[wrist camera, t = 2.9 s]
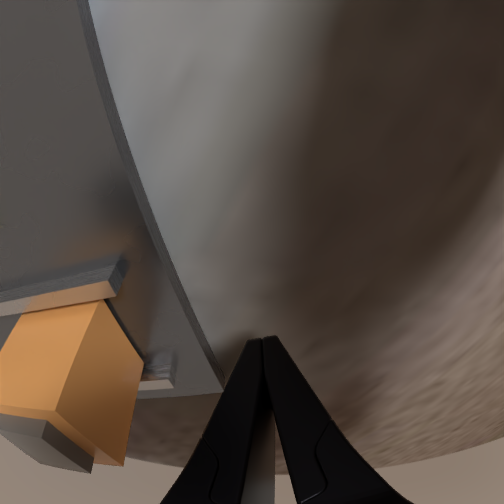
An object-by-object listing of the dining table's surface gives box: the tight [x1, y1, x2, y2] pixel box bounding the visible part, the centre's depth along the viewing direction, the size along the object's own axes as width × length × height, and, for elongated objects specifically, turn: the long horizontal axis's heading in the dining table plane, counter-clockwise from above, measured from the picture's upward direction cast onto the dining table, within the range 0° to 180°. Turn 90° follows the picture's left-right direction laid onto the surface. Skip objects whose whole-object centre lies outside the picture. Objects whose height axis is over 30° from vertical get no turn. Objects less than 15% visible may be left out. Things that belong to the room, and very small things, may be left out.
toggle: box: [0, 299, 144, 474], centre depth 9 cm, size 4×4×5 cm
